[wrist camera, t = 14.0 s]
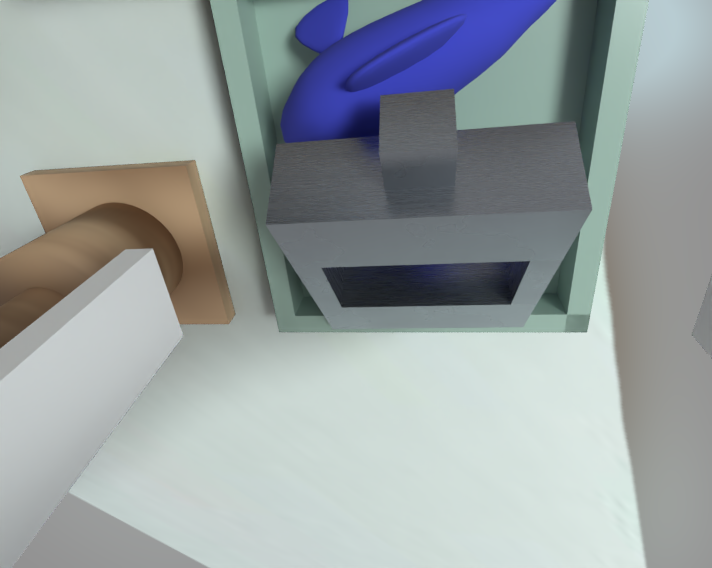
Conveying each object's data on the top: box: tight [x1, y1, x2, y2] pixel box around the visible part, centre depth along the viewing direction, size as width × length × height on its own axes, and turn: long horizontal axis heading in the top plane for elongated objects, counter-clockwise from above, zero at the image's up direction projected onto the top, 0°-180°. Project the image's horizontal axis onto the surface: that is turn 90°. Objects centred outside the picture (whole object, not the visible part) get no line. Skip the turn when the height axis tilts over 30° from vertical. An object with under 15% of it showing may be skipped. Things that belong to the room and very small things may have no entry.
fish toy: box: [280, 0, 557, 143], centre depth 15 cm, size 15×8×7 cm, turn 120°
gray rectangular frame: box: [266, 89, 592, 329], centre depth 17 cm, size 9×12×3 cm
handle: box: [0, 160, 235, 348], centre depth 19 cm, size 9×9×14 cm
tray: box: [210, 0, 649, 332], centre depth 20 cm, size 16×15×2 cm
